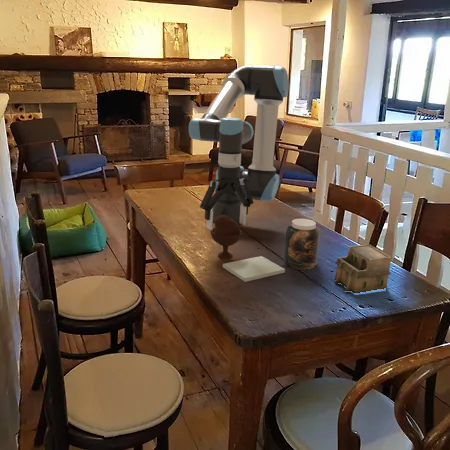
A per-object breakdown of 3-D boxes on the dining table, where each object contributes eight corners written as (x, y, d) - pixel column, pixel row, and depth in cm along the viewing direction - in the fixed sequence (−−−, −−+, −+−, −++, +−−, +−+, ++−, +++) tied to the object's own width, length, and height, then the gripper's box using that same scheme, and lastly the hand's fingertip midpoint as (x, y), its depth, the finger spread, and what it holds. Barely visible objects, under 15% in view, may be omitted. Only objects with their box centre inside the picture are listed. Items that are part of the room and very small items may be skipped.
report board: (261, 259, 174) (261, 255, 173) (284, 272, 163) (284, 269, 163) (222, 267, 165) (222, 263, 165) (244, 281, 155) (245, 278, 155)
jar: (276, 259, 175) (280, 218, 170) (305, 255, 179) (309, 215, 174) (294, 271, 164) (298, 229, 160) (323, 267, 169) (328, 226, 164)
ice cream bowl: (218, 264, 168) (220, 222, 163) (204, 252, 177) (206, 212, 172) (246, 259, 173) (248, 218, 168) (230, 248, 182) (232, 209, 177)
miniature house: (365, 273, 166) (369, 241, 162) (391, 291, 153) (397, 257, 150) (326, 278, 161) (330, 245, 157) (350, 297, 148) (355, 261, 145)
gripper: (202, 169, 155) (200, 234, 161) (266, 165, 168) (261, 224, 175) (190, 165, 161) (189, 227, 167) (253, 161, 174) (249, 219, 181)
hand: (226, 226), depth 171 cm, fingers open, 13 cm apart
